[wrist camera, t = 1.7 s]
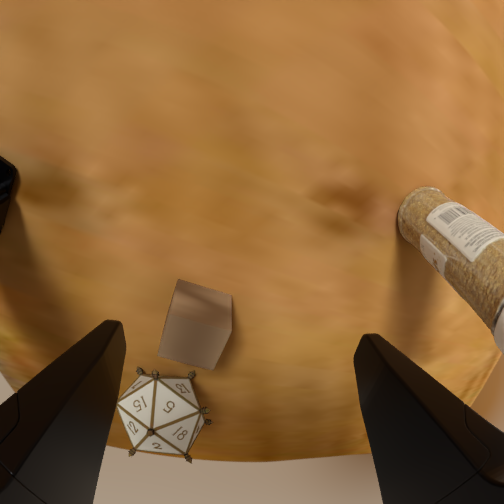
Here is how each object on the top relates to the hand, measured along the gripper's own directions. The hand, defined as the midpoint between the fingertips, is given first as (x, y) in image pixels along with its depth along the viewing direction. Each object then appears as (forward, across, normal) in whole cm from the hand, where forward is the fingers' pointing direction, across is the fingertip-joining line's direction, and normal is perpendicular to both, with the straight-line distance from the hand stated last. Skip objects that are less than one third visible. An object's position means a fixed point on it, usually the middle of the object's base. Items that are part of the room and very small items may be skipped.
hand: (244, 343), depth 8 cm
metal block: (+13, +2, +9) cm, 16 cm away
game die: (+13, +5, +18) cm, 23 cm away
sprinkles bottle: (+13, -13, 0) cm, 19 cm away
